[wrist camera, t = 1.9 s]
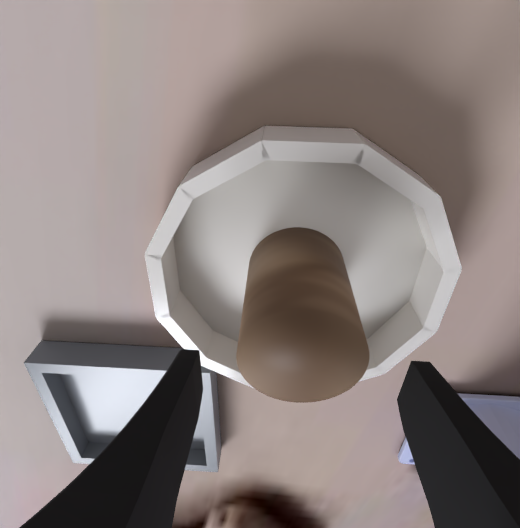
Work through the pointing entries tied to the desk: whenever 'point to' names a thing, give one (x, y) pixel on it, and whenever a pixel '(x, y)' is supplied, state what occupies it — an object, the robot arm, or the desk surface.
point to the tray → (114, 395)
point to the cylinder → (300, 320)
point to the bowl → (306, 216)
